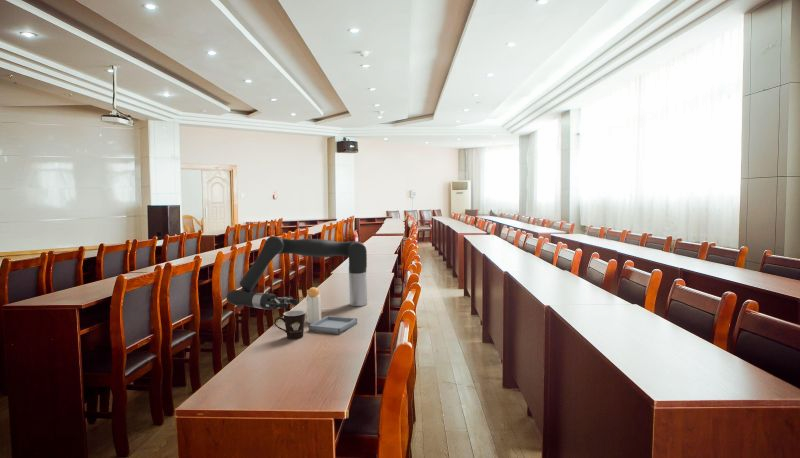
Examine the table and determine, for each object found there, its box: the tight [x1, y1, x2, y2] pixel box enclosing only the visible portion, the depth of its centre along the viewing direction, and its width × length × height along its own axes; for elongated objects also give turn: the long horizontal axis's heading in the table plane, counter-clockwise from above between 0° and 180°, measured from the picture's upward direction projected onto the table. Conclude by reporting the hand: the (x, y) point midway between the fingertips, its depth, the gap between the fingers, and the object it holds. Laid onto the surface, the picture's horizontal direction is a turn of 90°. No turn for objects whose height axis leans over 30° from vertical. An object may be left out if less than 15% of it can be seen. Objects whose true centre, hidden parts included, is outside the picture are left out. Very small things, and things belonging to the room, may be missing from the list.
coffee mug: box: [274, 309, 306, 340], centre depth 181 cm, size 12×9×10 cm
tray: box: [308, 315, 358, 335], centre depth 193 cm, size 16×15×2 cm
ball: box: [307, 286, 320, 297], centre depth 202 cm, size 5×5×5 cm
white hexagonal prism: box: [306, 294, 322, 324], centre depth 202 cm, size 6×6×12 cm
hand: (292, 303), depth 206 cm, fingers open, 8 cm apart
